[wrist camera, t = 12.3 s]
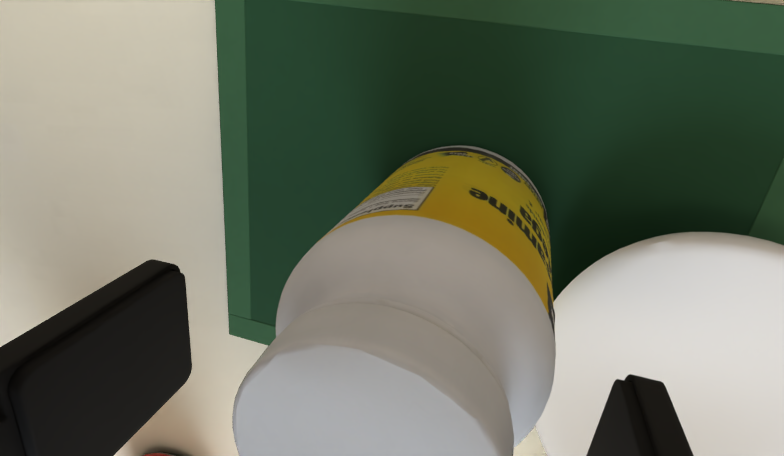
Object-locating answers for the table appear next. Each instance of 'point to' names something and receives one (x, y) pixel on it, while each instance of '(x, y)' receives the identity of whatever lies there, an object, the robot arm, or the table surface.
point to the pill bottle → (413, 322)
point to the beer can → (158, 454)
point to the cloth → (496, 119)
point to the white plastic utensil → (676, 341)
